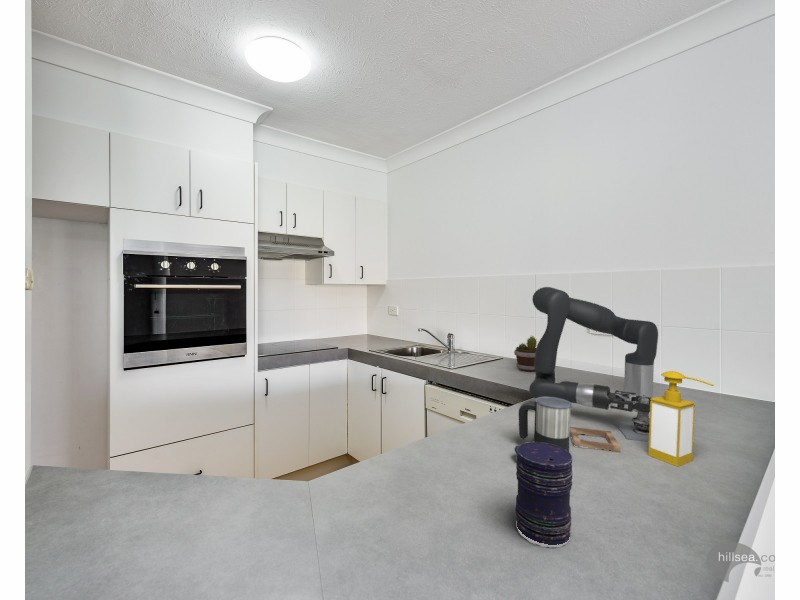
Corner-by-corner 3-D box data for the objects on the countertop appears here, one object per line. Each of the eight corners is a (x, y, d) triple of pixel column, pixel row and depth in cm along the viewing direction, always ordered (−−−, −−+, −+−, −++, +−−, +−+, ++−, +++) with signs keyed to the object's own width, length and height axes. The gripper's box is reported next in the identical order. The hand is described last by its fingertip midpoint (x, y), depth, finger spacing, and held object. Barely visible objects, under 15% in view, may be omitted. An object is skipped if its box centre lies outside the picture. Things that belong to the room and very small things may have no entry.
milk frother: (569, 450, 106) (570, 398, 105) (574, 477, 91) (576, 416, 90) (516, 442, 110) (517, 393, 110) (513, 467, 96) (514, 409, 95)
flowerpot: (509, 367, 212) (509, 331, 211) (535, 366, 213) (535, 331, 212) (520, 373, 197) (520, 335, 196) (547, 372, 199) (548, 335, 198)
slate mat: (616, 424, 125) (616, 423, 125) (658, 429, 122) (658, 427, 121) (626, 439, 114) (626, 437, 114) (672, 444, 110) (673, 442, 110)
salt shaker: (658, 435, 115) (659, 397, 114) (638, 435, 115) (640, 397, 114) (646, 428, 120) (647, 391, 120) (627, 428, 121) (628, 391, 120)
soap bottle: (702, 476, 92) (706, 380, 91) (648, 455, 103) (651, 369, 102) (717, 469, 95) (721, 377, 94) (663, 450, 106) (666, 367, 105)
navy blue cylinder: (507, 515, 76) (508, 442, 75) (554, 513, 76) (556, 441, 76) (528, 550, 66) (530, 466, 65) (581, 547, 67) (584, 464, 66)
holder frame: (569, 431, 119) (569, 426, 119) (610, 436, 116) (610, 431, 116) (574, 446, 108) (574, 441, 108) (620, 452, 105) (620, 446, 104)
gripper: (589, 389, 119) (651, 398, 110) (596, 380, 131) (652, 387, 122) (589, 412, 120) (650, 423, 110) (595, 401, 131) (651, 410, 122)
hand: (651, 404), depth 116 cm, fingers open, 8 cm apart
